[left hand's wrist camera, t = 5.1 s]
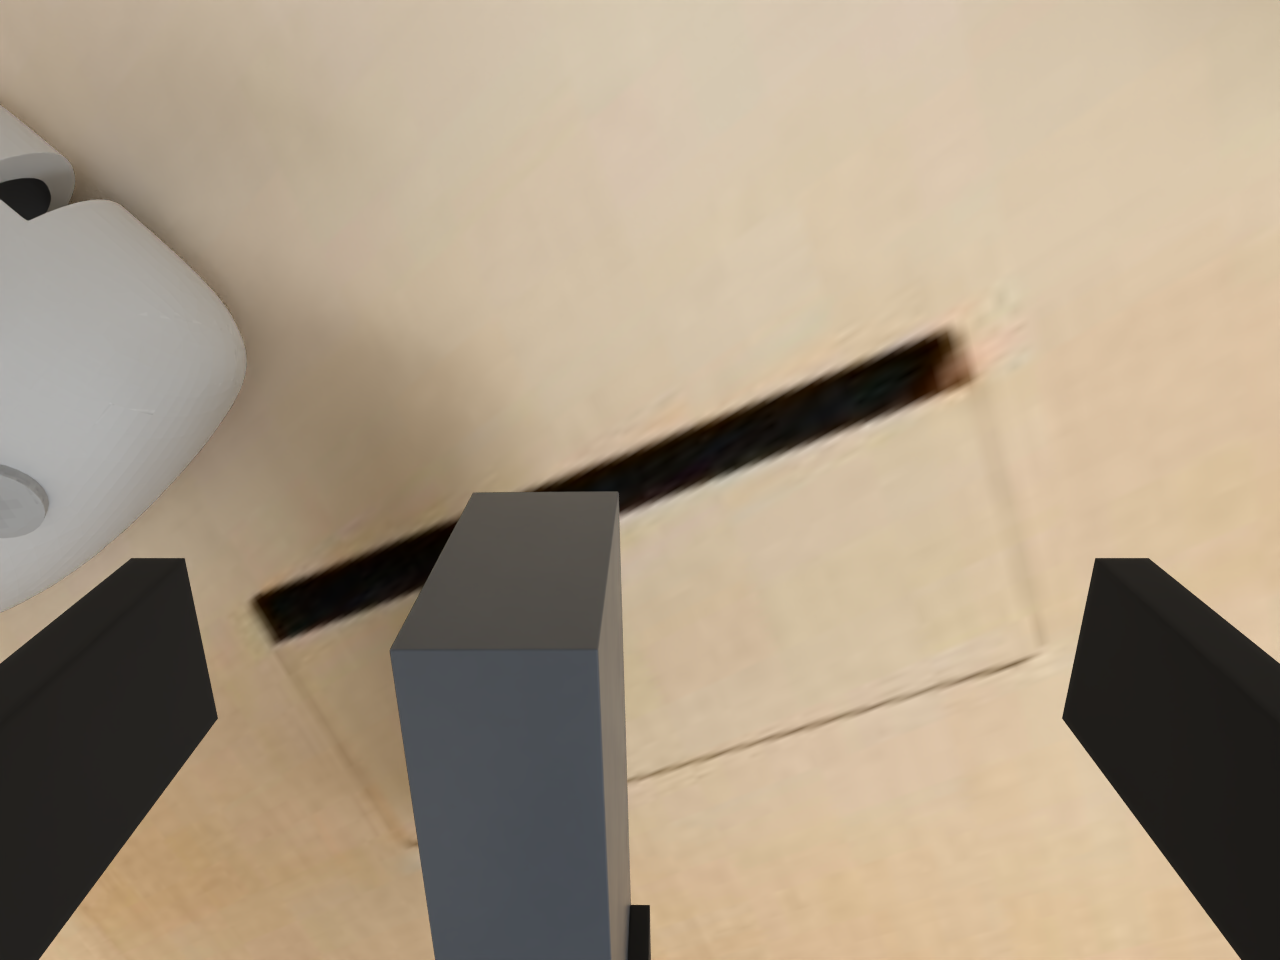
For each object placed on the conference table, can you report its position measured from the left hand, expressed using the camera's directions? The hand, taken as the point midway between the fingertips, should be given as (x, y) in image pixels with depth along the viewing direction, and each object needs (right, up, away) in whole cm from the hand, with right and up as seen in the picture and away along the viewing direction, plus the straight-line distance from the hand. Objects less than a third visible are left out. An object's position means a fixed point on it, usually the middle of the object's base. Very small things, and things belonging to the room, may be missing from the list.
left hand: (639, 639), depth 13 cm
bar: (-3, -8, +19) cm, 20 cm away
